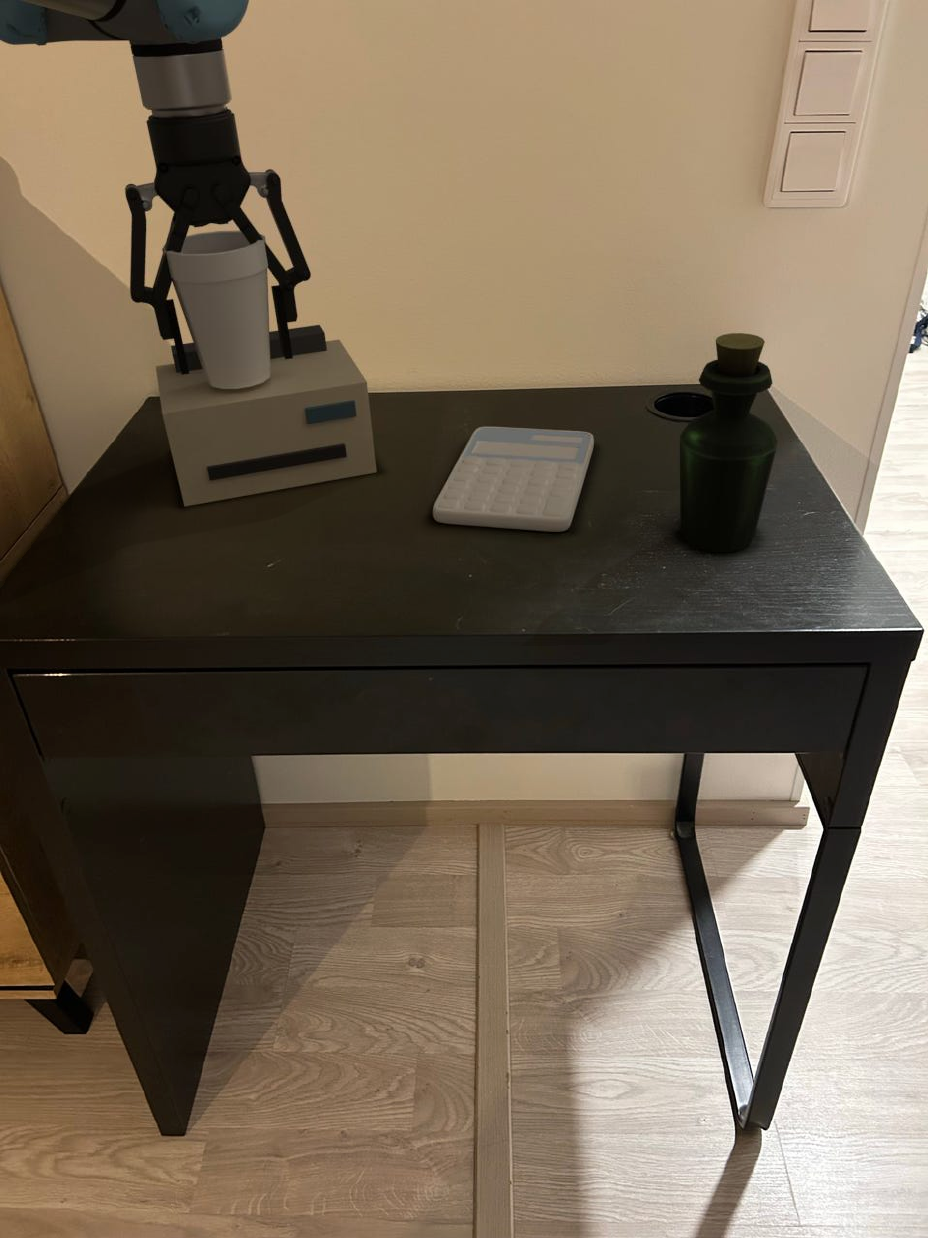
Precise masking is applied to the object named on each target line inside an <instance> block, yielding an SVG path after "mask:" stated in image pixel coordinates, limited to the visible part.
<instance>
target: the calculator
mask: <svg viewBox="0 0 928 1238" xmlns="http://www.w3.org/2000/svg"><path fill="white" fill-rule="evenodd" d="M594 438H595V437H594V435H593V434H592V433H591V432H588V431H579V430H565V429H564V430H561V429H543V428H527V427H525V428H524V427H508V426H507V427H506V426H505V427H504V426H479V427H477V428H476V429H475V430H474V431H473V432H472V434H471V436H470V438H469V439H468V441H467V443H466V444H465V446H464V448H463V450H462V452H461V454H460V455H459V458H458V460H457V461H456V463H455V465H454V466H453V469H452V471H451V472H450V474H449V476H448V477H447V480H446V482H445V483H444V484H443V486H442V489H441V490H440V492H439V494H438V496H437V498H436V500H435V502H434V504H433V507H432V517H433V519H434V521H436V522H437V523H442V524H447V525H459V526H473V527H485V528H498V529H511V530H525V531H536V532H537V531H538V532H553V533H560V532H565V531H567V530H568V529H569V528H570V527H571V525H572V521H573V519H574V515H575V512H576V509H577V505H578V502H579V498H580V495H581V491H582V488H583V485H584V481H585V478H586V474H587V471H588V468H589V465H590V461H591V457H592V455H593V451H594V446H595V439H594Z"/></svg>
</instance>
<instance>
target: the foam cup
mask: <svg viewBox="0 0 928 1238" xmlns="http://www.w3.org/2000/svg"><path fill="white" fill-rule="evenodd" d="M259 234H260V235H261V237H262V239H263V240H257V242H256V243H253V244H250V243H249V242H248V240H247V239H246V237H245V236H244V235H243V233H242V232H241V231H240V230H216V231H207V232H199V233H195V234H190V235H187V236H186V238H185V240H184V243H183V247H182V250H181V253H178V252H174V251H166V248H165V244H163V247H162V248H161V251H162V254H163V256H164V255H165V253H166V255H167V259H168V264H169V269H170V273H171V278H172V279H173V280H172V285H173V289H174V292H175V293H176V296H177V299H178V302H179V306H180V308H181V311H182V314H183V316H184V319H185V323H186V324H187V328H188V330H189V334H190V337H191V340H192V343H194V345H195V348H196V351H197V354H198V357H199V360H200V362H201V365H202V368H203V371H204V374H205V376H206V377H207V382H208V383H209V384H210V385H211V386H212V387H217V388H221V389H239V388H245V387H251V386H254V385H257V384H260V383H262V382H264V381H265V380H267V379H268V378H270V373H271V371H270V367H271V363H270V335H269V332H270V311H269V309H270V308H269V283H268V281H269V280H268V279H269V278H268V262H267V256H266V250H265V243H266V244H267V241H266V236H265V235H264V234H261V233H259ZM264 242H265V243H264Z"/></svg>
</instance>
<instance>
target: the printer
mask: <svg viewBox="0 0 928 1238" xmlns="http://www.w3.org/2000/svg"><path fill="white" fill-rule="evenodd" d="M288 330H289V336H290V343H291V349H292V356H293V358H292V359H285V357H284V355H283V353H282V351H281V345H280V339H279V333H278V330H273V331H272V330H271V331H269V335H270V363H271V367H270V371H271V373H270V378H268V379H267V380H265V381H264V382H262V383H260V384H257V385H254V386H251V387H245V388H239V389H221V388H217V387H212V386H211V385H210V384H209V383H208V382H207V377H206V376H205V374H204V371H203V368H202V365H201V362H200V360H199V357H198V354H197V351H196V348H195V345H194V342H186V343H183V346H184V351H185V355H186V360H187V365H188V369H189V374H184V375H182V374H181V370H180V365H179V361H178V356H177V352H176V347H175V344H173V345H170V351H171V355H172V359H173V363H168V364H162V365H161V364H160V365H156V366H155V371H156V378H157V387H158V394H159V401H160V408H161V415H162V420H163V424H164V426H165V431H166V436H167V439H168V440H167V441H168V444H169V448H170V452H171V457H172V460H173V464H174V469H175V473H176V477H177V482H178V485H179V489H180V493H181V498H182V503H183V506H184V507H190V506H196V505H200V504H206V503H207V504H208V503H213V502H218V501H224V500H229V499H236V498H241V497H245V496H253V495H257V494H263V493H268V492H274V491H280V490H284V489H285V490H286V489H291V488H296V487H304V486H309V485H313V484H319V483H324V482H330V481H335V480H342V479H347V478H353V477H358V476H364V475H368V474H369V475H370V474H376V473H377V461H376V453H375V443H374V434H373V425H372V417H371V408H370V398H369V397H370V396H369V390H368V389H369V387H368V381H367V380H366V378H365V377H364V375H363V374H362V371H360V369H359V368H358V366H357V364H356V362H355V361H354V360H353V358H352V357H351V355H350V353H349V352H348V350H347V349H346V347H345V346H344V345H343V343H342V341H341V340H340V339H334V340H326V334H325V331H324V330H323V328H322V326H321V325H320V324H314V325H308V326H307V325H306V326H301V327H293V328H288Z"/></svg>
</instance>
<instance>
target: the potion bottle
mask: <svg viewBox="0 0 928 1238" xmlns="http://www.w3.org/2000/svg"><path fill="white" fill-rule="evenodd" d="M715 347H716V348H715V349H716V357H717V359H713V360H712V361H709V362H707V363H706V364H705V365H704V367H703V368H702V371H701V373H700V375H699V378H698V381H699V384H700V386H702V387H703V388H704V389H706V390H708V391H710V392H711V393H710V394H711V399H712V405H713V410H711V411H709V412H706V413H704V414H701V415H699V416H697V417H694V418H693V419H691V420H690V421H689V422H688V424H687V425H686V427H685V428H684V429H683V431H682V433H681V434H680V435H679V504H680V505H679V513H680V514H679V517H680V519H679V521H680V522H679V523H680V525H679V527H680V528H679V529H680V533H681V537H682V538H683V539H684V540H685V541H686V542H687V543H688V544H689V545H691V546H692V547H694V548H696V549H698V550H701V551H705V552H706V551H707V552H711V553H733V552H736V551H740V550H742V549H744V548H745V547H747V546H749V545H750V544H751V543H753V541H754V538H755V536H756V533H757V528H758V525H759V520H760V516H761V512H762V508H763V504H764V500H765V496H766V492H767V488H768V484H769V480H770V476H771V472H772V468H773V464H774V460H775V457H776V452H777V448H778V443H779V441H778V439H777V436H776V434H775V432H774V429H773V427H772V426H771V424H770V423H768V422H767V421H765V420H764V419H762V418H760V417H758V416H757V415H755V414H753V413H752V412H751V409H752V407H753V404H754V402H755V399H756V397H757V394H759V393H764V392H765V391H767V390H769V389H771V387H772V385H773V379H772V374H771V370H770V368H769V366H768V365H767V364H765V363H764V362H761V361H760V357H761V354H762V351H763V348H764V347H765V340H764V338H763V337H762V336H759V335H757V334H756V335H755V334H752V333H744V332H738V333H737V332H733V333H732V332H730V333H726V334H722V335H719V336H717V337H716V338H715Z"/></svg>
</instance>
